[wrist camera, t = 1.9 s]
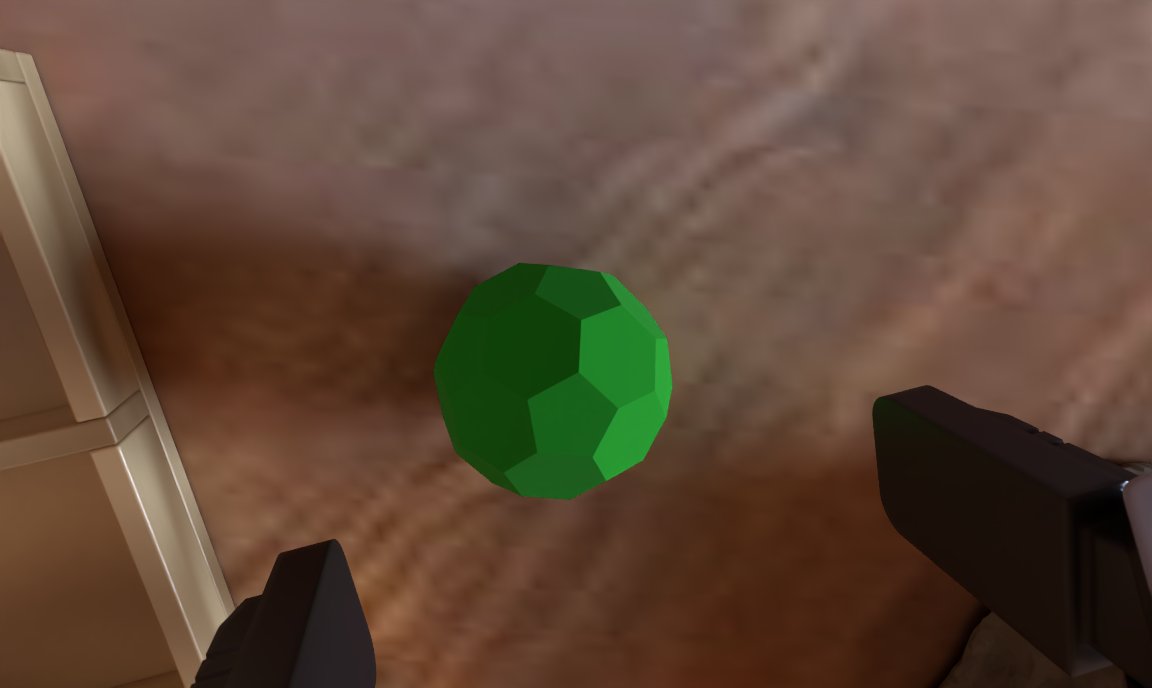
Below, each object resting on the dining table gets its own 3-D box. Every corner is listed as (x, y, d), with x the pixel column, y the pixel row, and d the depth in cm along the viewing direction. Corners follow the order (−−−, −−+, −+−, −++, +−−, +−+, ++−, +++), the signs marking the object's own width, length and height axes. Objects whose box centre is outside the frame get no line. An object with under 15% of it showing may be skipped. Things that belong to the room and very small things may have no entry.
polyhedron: (496, 477, 19) (514, 584, 15) (396, 311, 18) (379, 371, 13) (671, 383, 19) (741, 459, 15) (585, 209, 18) (634, 235, 13)
